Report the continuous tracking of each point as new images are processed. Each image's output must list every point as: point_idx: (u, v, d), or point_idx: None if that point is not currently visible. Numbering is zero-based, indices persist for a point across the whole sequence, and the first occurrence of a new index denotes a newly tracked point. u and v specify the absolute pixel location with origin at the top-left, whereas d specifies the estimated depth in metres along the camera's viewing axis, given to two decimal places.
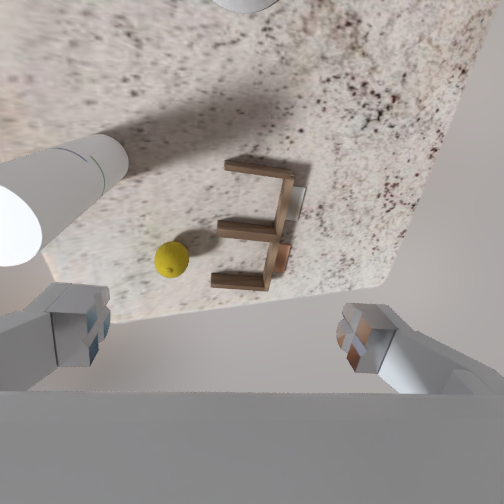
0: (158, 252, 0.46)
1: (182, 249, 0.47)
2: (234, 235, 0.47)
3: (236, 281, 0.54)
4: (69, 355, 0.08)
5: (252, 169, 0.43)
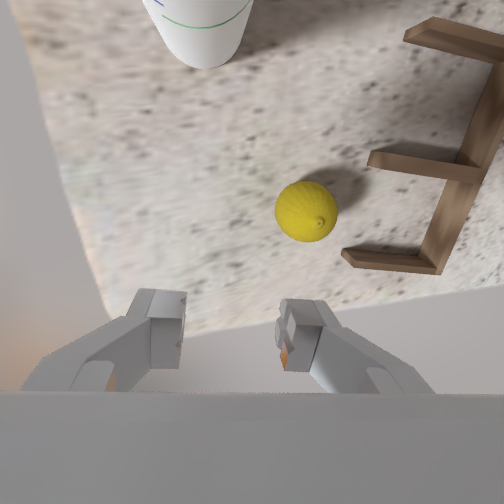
0: (290, 193, 0.25)
1: None
2: (414, 167, 0.27)
3: (389, 259, 0.32)
4: (161, 358, 0.08)
5: (475, 30, 0.23)
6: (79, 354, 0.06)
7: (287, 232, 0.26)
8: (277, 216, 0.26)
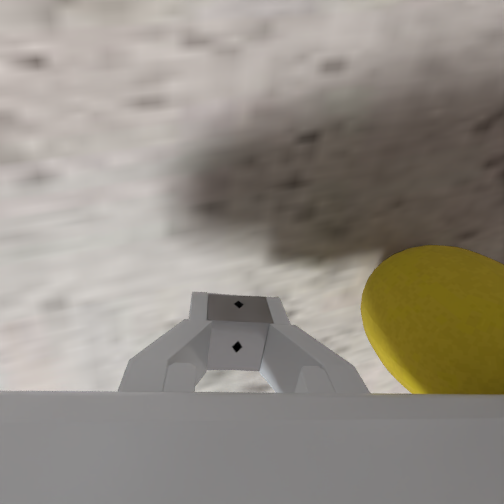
0: (436, 297, 0.09)
1: None
2: None
3: None
4: (218, 359, 0.08)
5: None
6: (160, 356, 0.06)
7: (414, 393, 0.10)
8: (381, 342, 0.10)
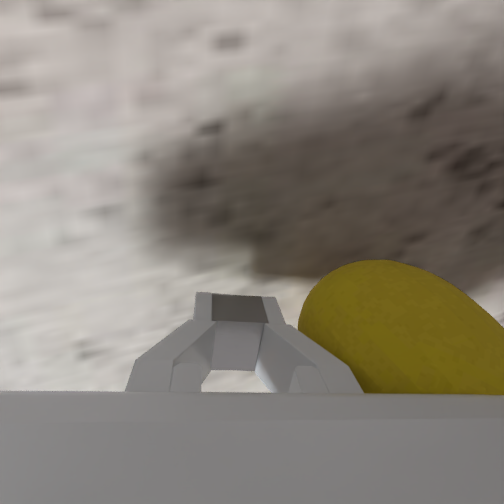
0: (380, 344, 0.07)
1: None
2: None
3: None
4: (222, 359, 0.08)
5: None
6: (166, 356, 0.06)
7: None
8: None
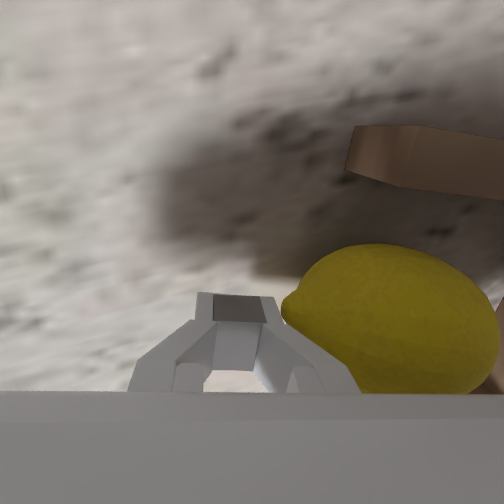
0: (483, 325, 0.08)
1: None
2: (501, 178, 0.08)
3: None
4: (224, 359, 0.08)
5: None
6: (168, 357, 0.06)
7: None
8: None
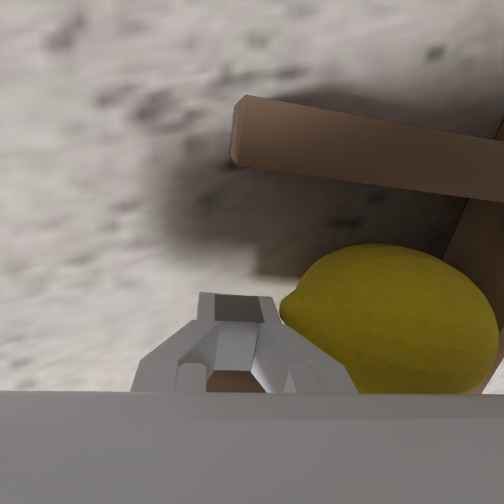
0: (481, 324, 0.08)
1: None
2: (355, 158, 0.07)
3: None
4: (226, 359, 0.08)
5: None
6: (171, 356, 0.06)
7: None
8: None
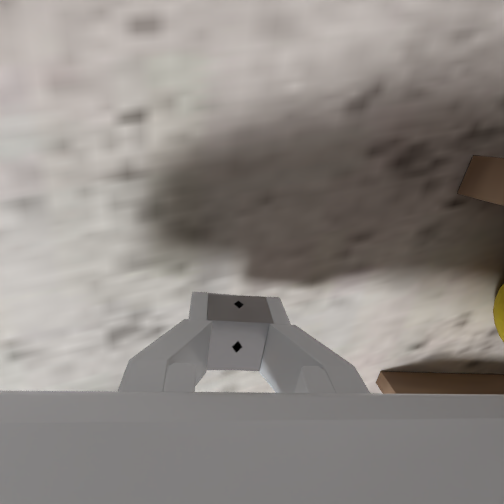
0: None
1: None
2: None
3: None
4: (218, 359, 0.08)
5: None
6: (160, 356, 0.06)
7: None
8: None
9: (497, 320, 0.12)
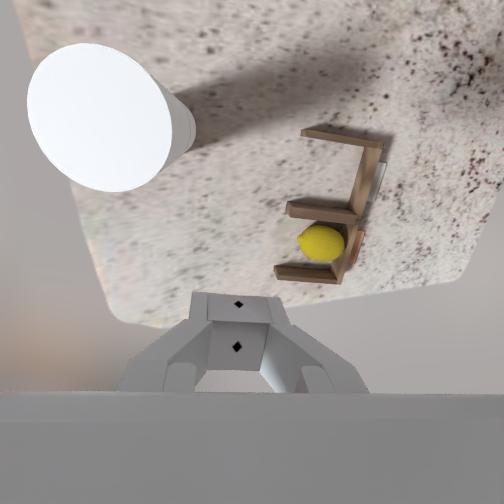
0: (335, 234, 0.43)
1: None
2: (310, 215, 0.42)
3: (304, 273, 0.47)
4: (218, 359, 0.08)
5: (337, 135, 0.38)
6: (160, 356, 0.06)
7: (333, 257, 0.43)
8: (330, 249, 0.42)
9: None
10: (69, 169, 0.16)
